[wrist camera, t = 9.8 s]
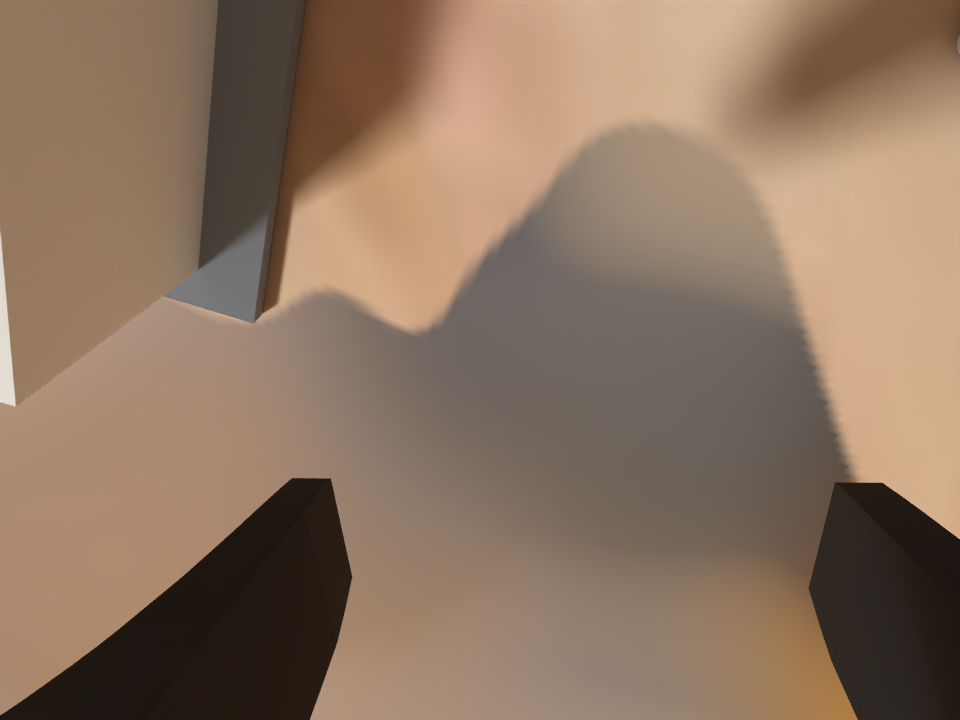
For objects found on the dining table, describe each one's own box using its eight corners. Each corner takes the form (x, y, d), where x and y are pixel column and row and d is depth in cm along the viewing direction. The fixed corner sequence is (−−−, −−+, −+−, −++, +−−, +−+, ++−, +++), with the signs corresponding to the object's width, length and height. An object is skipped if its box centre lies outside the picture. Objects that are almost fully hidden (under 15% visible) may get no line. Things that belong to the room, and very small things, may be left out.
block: (227, -118, 13) (-40, -225, 7) (198, 269, 18) (15, 407, 12) (108, -158, 13) (-265, -301, 7) (108, 243, 18) (-124, 367, 12)
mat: (324, -134, 14) (315, -140, 13) (261, 314, 19) (253, 323, 18) (42, -232, 13) (22, -242, 13) (59, 253, 19) (44, 260, 18)
